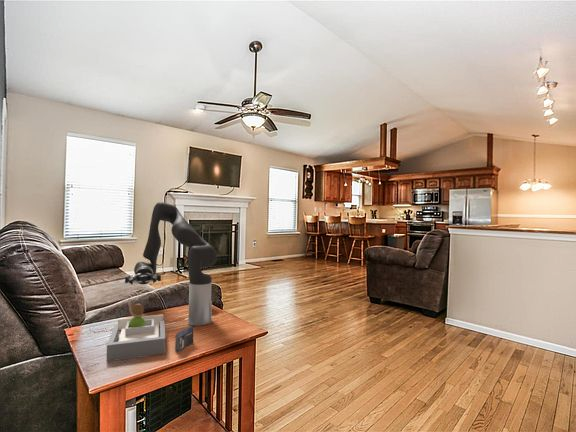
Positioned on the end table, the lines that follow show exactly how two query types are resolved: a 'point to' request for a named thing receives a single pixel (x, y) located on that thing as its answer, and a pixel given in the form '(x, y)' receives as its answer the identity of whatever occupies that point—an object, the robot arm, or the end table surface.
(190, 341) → the mini dv tape
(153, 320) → the tray
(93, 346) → the end table surface
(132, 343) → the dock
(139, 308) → the snail figurine
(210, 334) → the end table surface
